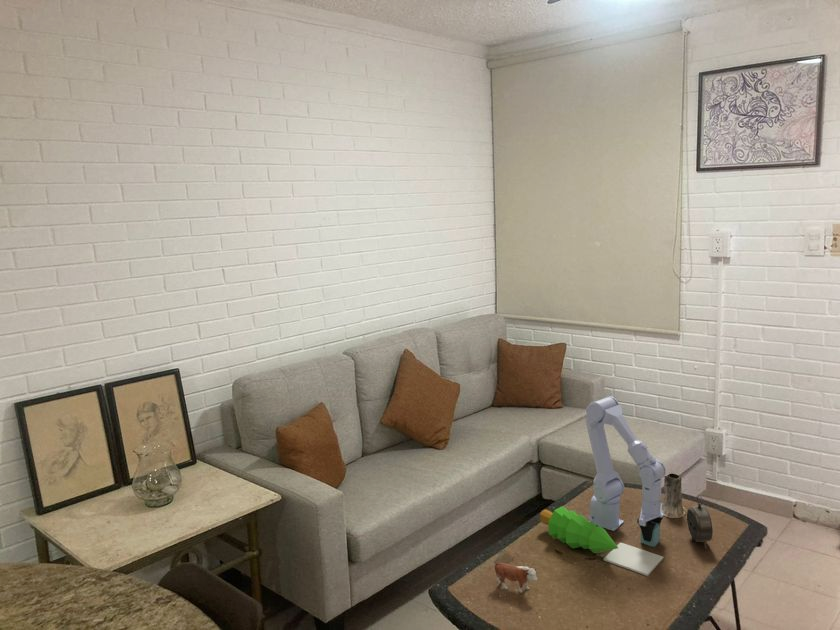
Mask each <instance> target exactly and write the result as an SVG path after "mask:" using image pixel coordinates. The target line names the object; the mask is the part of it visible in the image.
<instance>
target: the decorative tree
mask: <svg viewBox="0 0 840 630" xmlns="http://www.w3.org/2000/svg"><path fill="white" fill-rule="evenodd" d="M539 521H540V522H541V523H542V524H544V525H547V526H548V527H547V528H548V531H547V532H548V535H549V536H551V537H552V538H553V539H554V540H556V539H557V540H559V541H560V542H562V543H563V544H566V545H568V546H569V547H570V548H572V549H577V548H582V549H583V550H586V549H589V550H590V552H592V553H594V554H596V553H597V554H598V553H601V552H607V551H612V550H613V549H617V548H618V547H617V545H618V544H616V542H615V541H614V540H613V539H612V537H611V536H610V535H609V533H608V532H607V531H606V530H605V528H603V527H601V526H597V525H595V524H594V523H593V522H592V521H590V520H589V521H590V522H589V521H588V519H586V518H585V516H583V515H582V514H581V513H579V514H577V513H576V512H575V511H574V510H573V509H571V510H568V509H567V508H566V507H565V506H564V505H562V506H560V507H558V508H556V509H554V510H553V512H552V511H550V510H548V509H546V508H545V509H543V510H541V512H540V513H539Z"/></svg>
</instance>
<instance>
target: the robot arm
mask: <svg viewBox="0 0 840 630" xmlns="http://www.w3.org/2000/svg"><path fill="white" fill-rule="evenodd" d="M585 412H586V420H585V422H586V423H585V424H586V429H587V434H588V438H589V442H590V447H591V451H592V456H593V459H594V464H595V468H596V469H595V470H596V474H595V477H594V479H593V482H592V483H593V489H592V492H593V496H592V497H591V499H590V502H589V521H588V522H590V521H592V522H593V523H594V524H595V525H596V526H597V527H598V526H601V527H602V528H603V529H606V530H610V531H613V532H614V531H616V530H617V529H618V528H619V527H620V526H621V525H622V524H624V523H625V521H624V520H622V519H620V500H621V495H622V494H624V492H625V484H624V482H623V481H622V479H621V477H620V473H618V472H617V471H615V470H614V466H613V462H612V457H611V453H610V449H609V444H608V441H607V440H608V439H607V436H606V430H605V427H604V425H610V426H612V427H613V428H614V429H615V430H616V431H617V433H618V435H619V436H620V437H621V438H622V439H623V440H624V442H625V443H626V445H627V452H628V454H629V456H631V459H632V460H633V461H634V463H635V465H636V466H637V468H638V469H639V471H638V475H639V478H640V480H641V485H642V490H641V494H642V495H641V509H640V517H639V518H637V521H636V523H637V524H638V526H639V528H640V532H641V531H642V535H643V539H644V540H645V541H648V542H650V541H651V539H652V533H653V529H654V527H655V525H656V524H655V523H658V524H660V525H661V523H662V520H663V518H664V517H665V516H664V513H661V510H662V509H663V502H662V478H664V477H665V476H666V468H665V465H664V463H663V462H661V461H660V460H658V459H656V457H653V454H652V453H651V452H650V450H649V449H648V446H647V444H646V443H644V442H643V441H641V440H639V439H637V437H636V435H635V434H634V432H633V430H632V429H631V427H630V425H629V423H628V422H627V420H626V418H625V416H624V414H623V408H622V406H621V405H620V404H619V401H618V400H617V399H616V398H615V397H614V396H609V395H608V396H606V397H604V398H601V399H599V400H595V401H592V402H590V403H589V404H588V405H587V406H586V408H585ZM652 522H655V523H652Z"/></svg>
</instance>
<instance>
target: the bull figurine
mask: <svg viewBox="0 0 840 630" xmlns="http://www.w3.org/2000/svg"><path fill="white" fill-rule="evenodd" d="M536 570H537V567H535V568H532V567H531V568H530V567H528V566H521V565H519V566H518V565H513V564H509V563H504V562H497V563H495V565H494V572H495V574H496V579H497V582H498V584H502V589H504V590H507V591H508V590H509V587H508V586H507V585H506V583H505V579H507V580H509V581H510V582H511V583H513V582H517V583H518V585H519V588H518V592H519V594H522V593H524V592H523V590H522V588H523V586H524V589H526V590H527V591H530V587H529V585H528V584H529V583H530V582H532V581H533V582H537V581H538V577H537V572H536Z"/></svg>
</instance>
